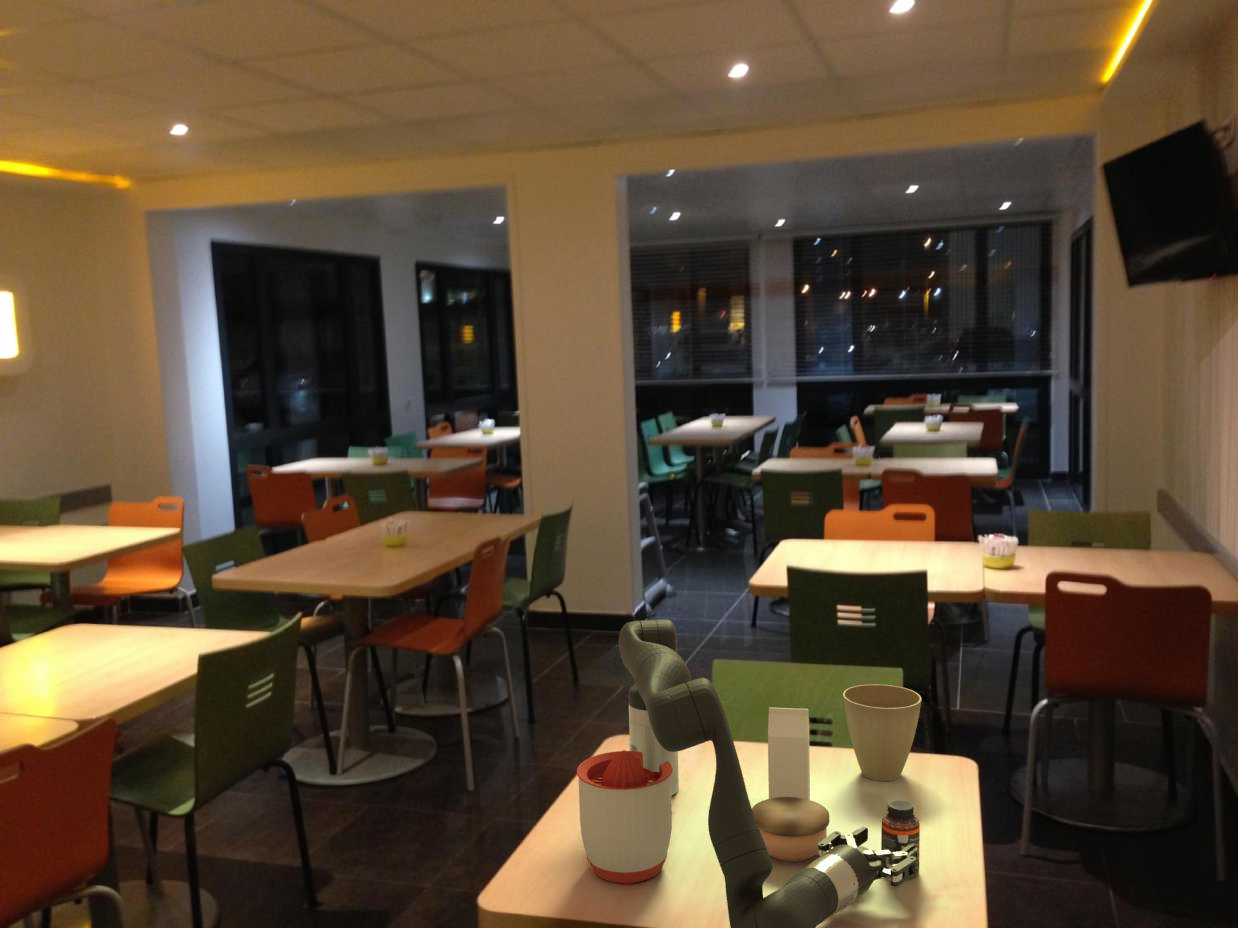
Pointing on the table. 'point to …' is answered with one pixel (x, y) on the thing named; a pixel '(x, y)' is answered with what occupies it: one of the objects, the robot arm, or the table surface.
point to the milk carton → (788, 753)
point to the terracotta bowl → (792, 845)
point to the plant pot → (881, 727)
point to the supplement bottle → (900, 829)
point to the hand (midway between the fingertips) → (889, 840)
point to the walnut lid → (790, 816)
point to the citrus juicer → (625, 815)
